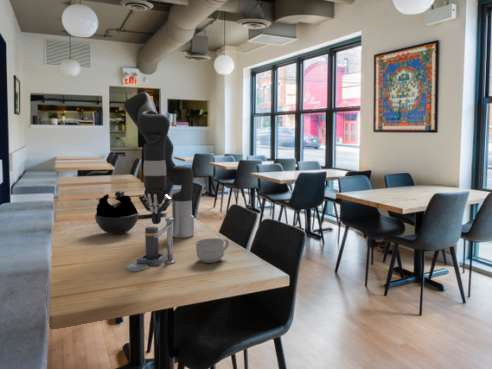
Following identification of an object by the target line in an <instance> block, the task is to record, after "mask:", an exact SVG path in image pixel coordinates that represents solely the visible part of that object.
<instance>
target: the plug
mask: <svg viewBox="0 0 492 369" xmlns="http://www.w3.org/2000/svg"><path fill="white" fill-rule="evenodd" d="M157 232H159V227H158V226H146V227H145V228H144V236H145V238H144V239H145V240H144V242H145V253H146V259H158V258H159V253H160V252H159V251H160V250H159V249H160V247H159V238H154V235H155V234H156V233H157Z"/></svg>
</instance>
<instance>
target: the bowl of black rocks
mask: <svg viewBox="0 0 492 369" xmlns="http://www.w3.org/2000/svg"><path fill="white" fill-rule="evenodd" d="M109 197H110V195H109V194H105V195H103V197H101V198H99V199H98V203H97V205H96V209H95V210H96V212H95V215H94V219H95V221H96V223H97V225H98V226H99V228H100V229H101V230H102V231H104V232H105V233H107V234H110V235H115V236H117V235H118V236H119V235H123V234H126V233H128V232H130V231H131V230H132V229H133V228H134V227H135V225H136V224H137V222H138V219H139V215H140V213H139V212H138V210H137V208H136V205H134V204H135V203H134V202H132V198H131V197H130V196H129V195H125V194H124V196H119V197H118V198H116V197H114V199H115V200H116V201H117V202H122V203H121V204H119V205H118V206H117V207H116V208H115V207H114V206H112V204H111V203H109V201H108V199H109Z"/></svg>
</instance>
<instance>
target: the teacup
mask: <svg viewBox="0 0 492 369" xmlns="http://www.w3.org/2000/svg"><path fill="white" fill-rule="evenodd" d="M224 242H225V243H224ZM229 245H230V241H229V240H228V239H227V238H222V239H221V238H216V237H212V238H211V237H210V238H201V239H198V240H196V241H195V248H196V256H197V259H199V260H200V261H201V262H202V263H204V262H205V263H206V264H213V263H218V262H219V261H221V259H223V257H224V255H225V254H224V253H225V250H227V249H228V248H229ZM205 263H204V264H205Z"/></svg>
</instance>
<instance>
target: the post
mask: <svg viewBox="0 0 492 369" xmlns="http://www.w3.org/2000/svg"><path fill="white" fill-rule="evenodd" d="M172 231H173V225H172V221H170V228H168V229H167V230H166V243H167V245H166V248H167V251H166V252H167V257H168V259H167V260H165V261H164V263H165V265H166V264H168V265H172V264H175V263H176V259H174V255H173V254H174V249H173V248H174V247H173V246H174V244H173V242H174V241H173V232H172Z"/></svg>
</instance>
